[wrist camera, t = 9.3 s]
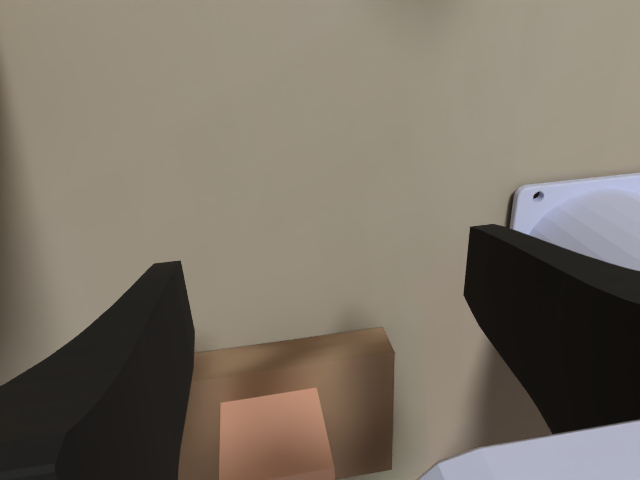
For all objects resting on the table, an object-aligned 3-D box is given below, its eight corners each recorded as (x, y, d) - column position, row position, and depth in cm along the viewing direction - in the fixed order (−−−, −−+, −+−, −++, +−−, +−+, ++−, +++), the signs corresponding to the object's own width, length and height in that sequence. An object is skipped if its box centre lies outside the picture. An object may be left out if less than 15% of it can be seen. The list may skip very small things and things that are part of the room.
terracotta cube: (316, 387, 24) (334, 467, 20) (321, 454, 26) (338, 539, 22) (220, 402, 23) (218, 488, 19) (233, 469, 25) (234, 559, 21)
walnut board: (383, 327, 25) (394, 352, 24) (381, 440, 29) (391, 469, 27) (137, 361, 24) (130, 391, 22) (168, 475, 27) (164, 509, 26)
